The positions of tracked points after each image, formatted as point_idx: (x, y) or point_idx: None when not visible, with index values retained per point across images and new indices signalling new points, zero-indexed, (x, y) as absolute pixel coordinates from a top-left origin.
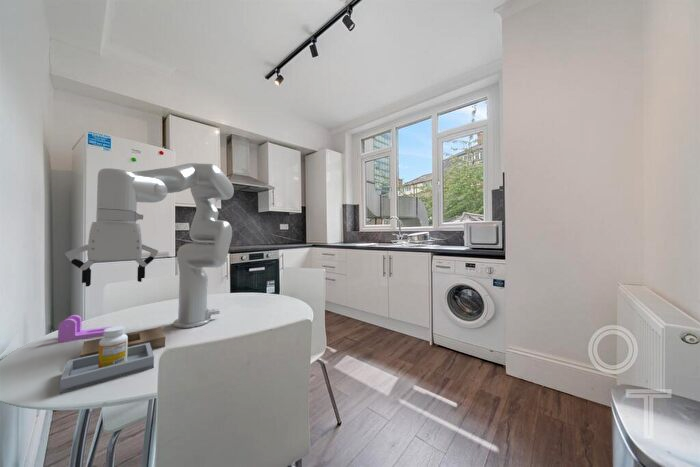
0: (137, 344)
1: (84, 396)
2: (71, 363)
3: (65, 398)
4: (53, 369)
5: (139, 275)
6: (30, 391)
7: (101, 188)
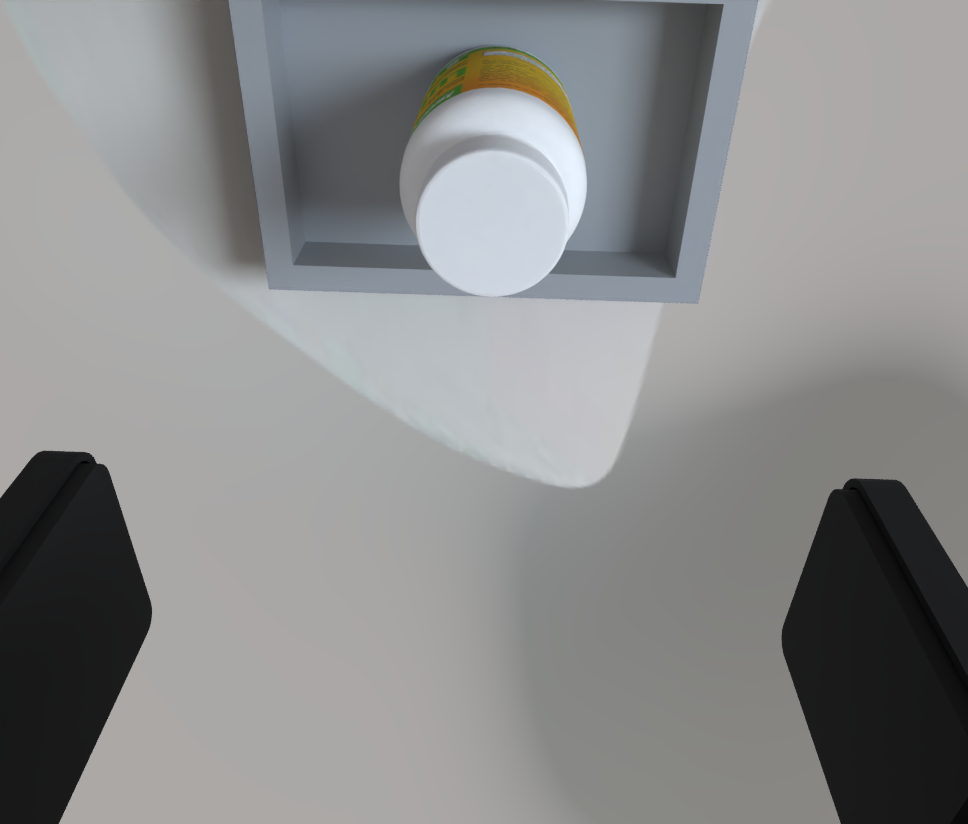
0: None
1: (388, 359)
2: (262, 48)
3: (320, 323)
4: None
5: (831, 750)
6: (140, 115)
7: None
